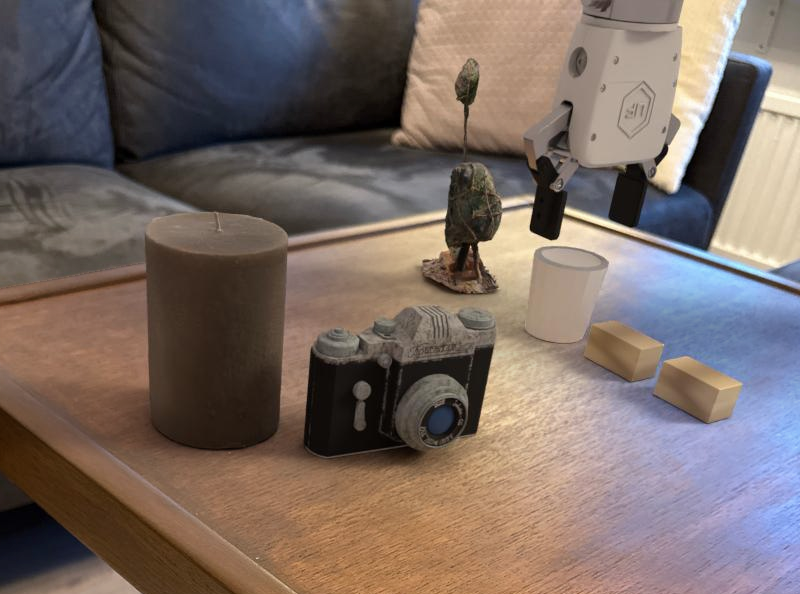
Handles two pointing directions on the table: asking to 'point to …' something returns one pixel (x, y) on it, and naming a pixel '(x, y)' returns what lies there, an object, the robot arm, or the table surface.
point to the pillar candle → (215, 327)
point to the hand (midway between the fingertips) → (583, 229)
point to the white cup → (563, 292)
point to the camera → (399, 382)
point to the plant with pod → (467, 211)
